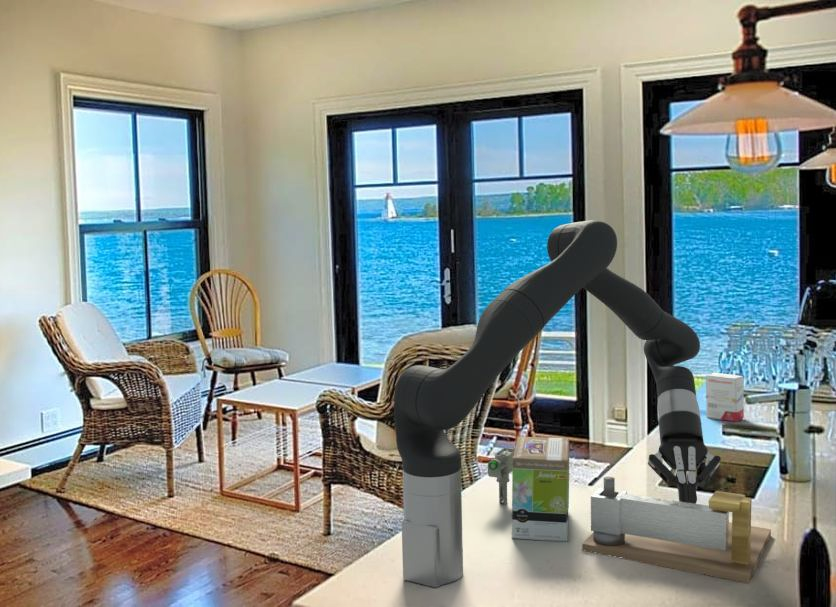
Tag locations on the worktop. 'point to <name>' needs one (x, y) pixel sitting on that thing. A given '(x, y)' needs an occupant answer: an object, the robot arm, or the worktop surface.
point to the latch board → (718, 563)
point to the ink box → (724, 397)
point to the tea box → (540, 489)
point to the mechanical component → (502, 470)
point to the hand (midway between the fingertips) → (688, 506)
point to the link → (659, 519)
